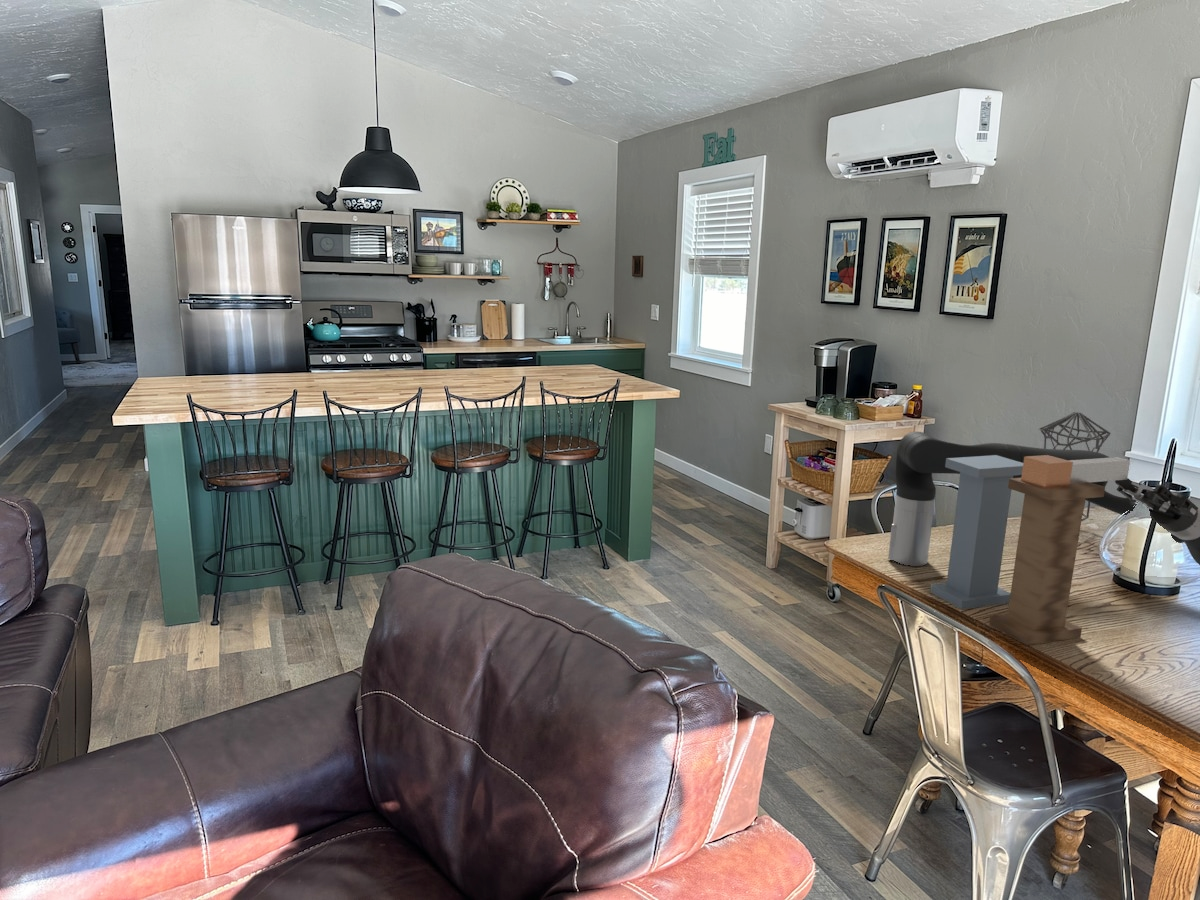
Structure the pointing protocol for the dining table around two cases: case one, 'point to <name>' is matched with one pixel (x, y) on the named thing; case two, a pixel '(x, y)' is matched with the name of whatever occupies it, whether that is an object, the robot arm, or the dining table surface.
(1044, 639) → the walnut post
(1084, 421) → the geometric lantern
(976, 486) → the post
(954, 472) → the robot arm
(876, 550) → the dining table surface
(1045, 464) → the bar
